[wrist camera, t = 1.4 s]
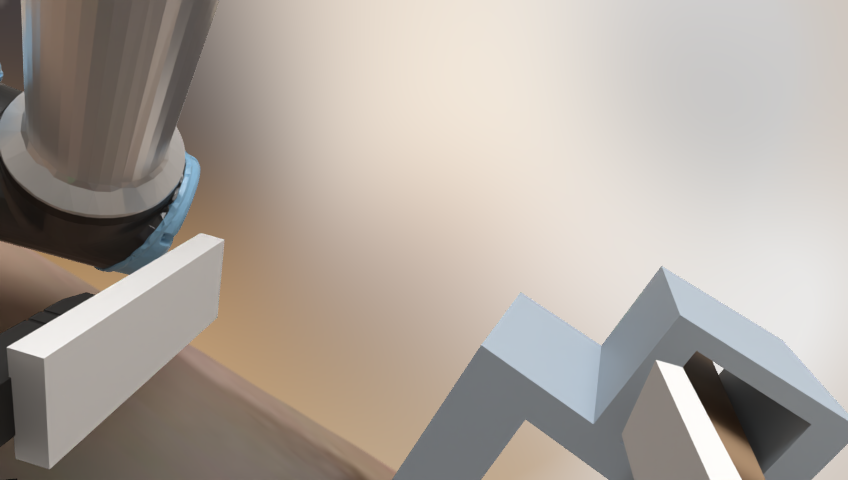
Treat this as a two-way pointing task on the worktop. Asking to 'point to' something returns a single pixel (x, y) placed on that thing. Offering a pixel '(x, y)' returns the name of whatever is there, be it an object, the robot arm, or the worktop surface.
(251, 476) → the worktop surface
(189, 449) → the worktop surface
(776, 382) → the light blue upright pillar
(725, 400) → the rod
